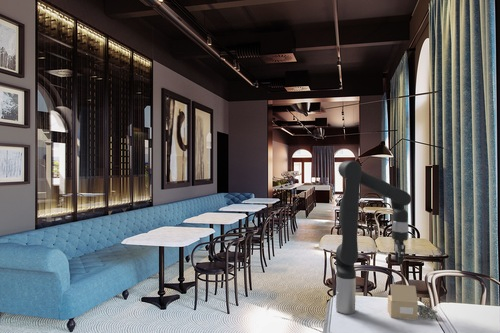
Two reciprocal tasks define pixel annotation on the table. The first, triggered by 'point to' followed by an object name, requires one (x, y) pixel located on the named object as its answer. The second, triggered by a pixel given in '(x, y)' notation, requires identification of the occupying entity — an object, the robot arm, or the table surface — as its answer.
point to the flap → (403, 293)
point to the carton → (402, 309)
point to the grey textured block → (426, 312)
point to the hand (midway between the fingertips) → (399, 262)
